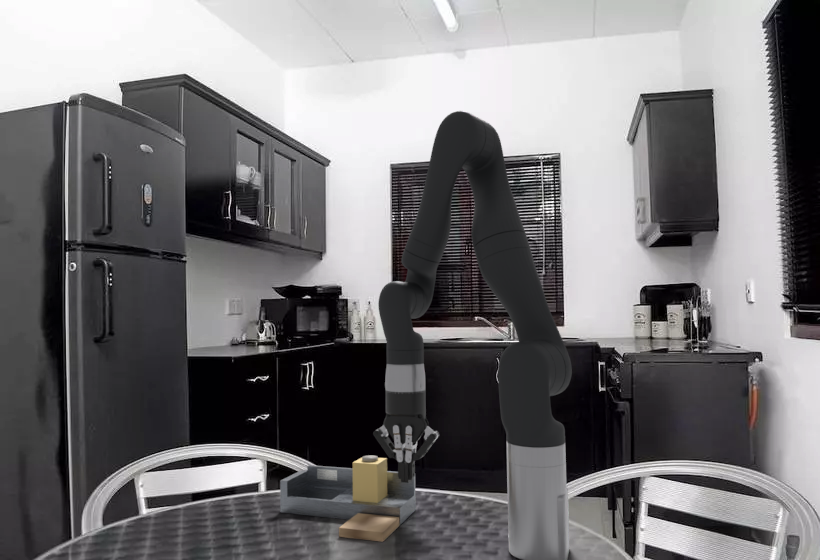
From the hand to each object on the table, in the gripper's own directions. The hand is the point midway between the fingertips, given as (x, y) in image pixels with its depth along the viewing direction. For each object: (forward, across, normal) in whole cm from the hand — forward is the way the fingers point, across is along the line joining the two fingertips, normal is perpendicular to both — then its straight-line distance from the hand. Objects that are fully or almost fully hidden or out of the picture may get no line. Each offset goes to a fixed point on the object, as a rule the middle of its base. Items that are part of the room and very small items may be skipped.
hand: (406, 481), depth 113 cm
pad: (+7, +4, +9) cm, 11 cm away
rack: (+7, +12, 0) cm, 14 cm away
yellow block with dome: (+4, +7, 0) cm, 8 cm away
